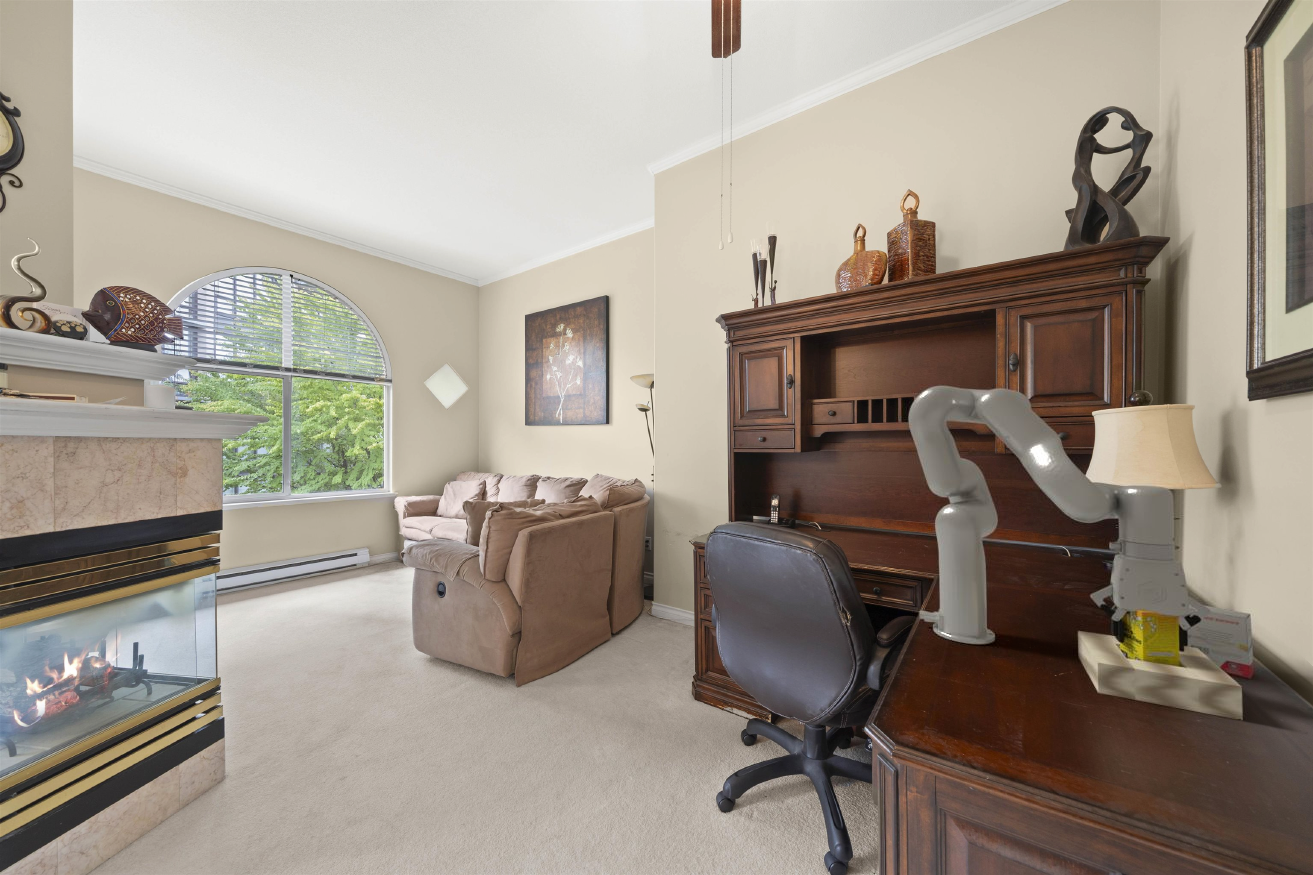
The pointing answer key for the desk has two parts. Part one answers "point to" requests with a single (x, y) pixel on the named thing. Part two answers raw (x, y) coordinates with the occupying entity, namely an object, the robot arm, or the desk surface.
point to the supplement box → (1151, 637)
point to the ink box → (1225, 640)
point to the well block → (1160, 678)
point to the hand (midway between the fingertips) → (1148, 643)
